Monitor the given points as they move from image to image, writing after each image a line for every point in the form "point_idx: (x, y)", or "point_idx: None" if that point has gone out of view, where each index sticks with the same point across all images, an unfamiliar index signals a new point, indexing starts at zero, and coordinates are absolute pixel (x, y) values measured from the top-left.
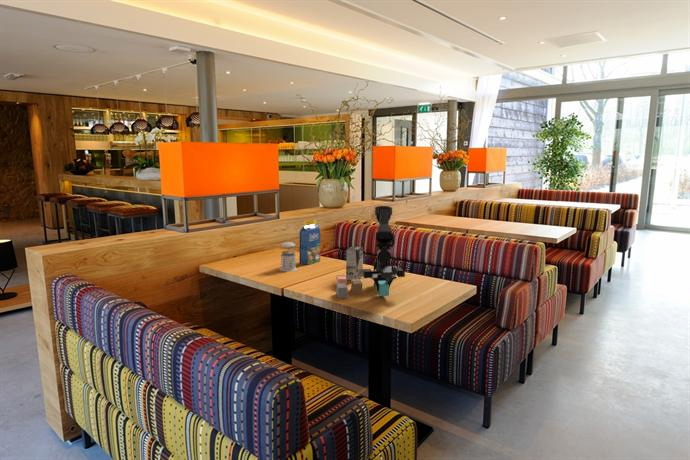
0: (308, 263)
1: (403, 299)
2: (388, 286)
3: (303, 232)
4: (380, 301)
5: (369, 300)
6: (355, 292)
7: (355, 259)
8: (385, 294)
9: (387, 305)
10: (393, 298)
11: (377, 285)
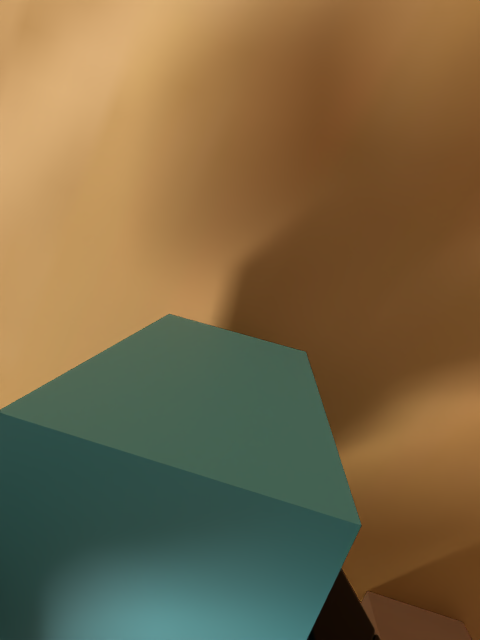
0: None
1: (13, 243)
2: (66, 390)
3: None
4: (323, 282)
5: (440, 373)
6: (452, 636)
7: None
8: (216, 334)
9: (324, 72)
10: (113, 322)
11: (338, 611)
